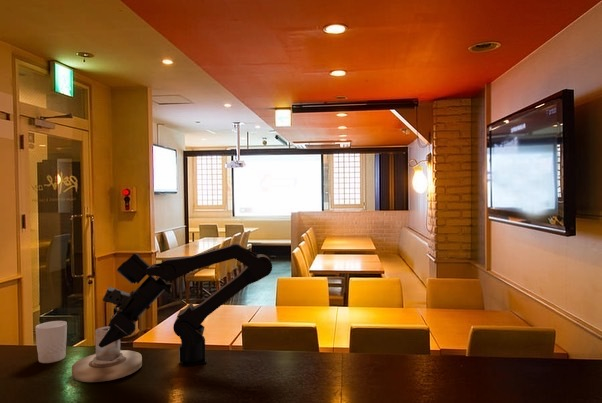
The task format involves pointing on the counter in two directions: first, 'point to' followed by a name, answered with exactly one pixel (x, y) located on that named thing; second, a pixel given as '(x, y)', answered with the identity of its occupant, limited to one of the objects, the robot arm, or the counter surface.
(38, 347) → the white cup
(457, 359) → the counter surface
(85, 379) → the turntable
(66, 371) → the counter surface
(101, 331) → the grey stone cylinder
